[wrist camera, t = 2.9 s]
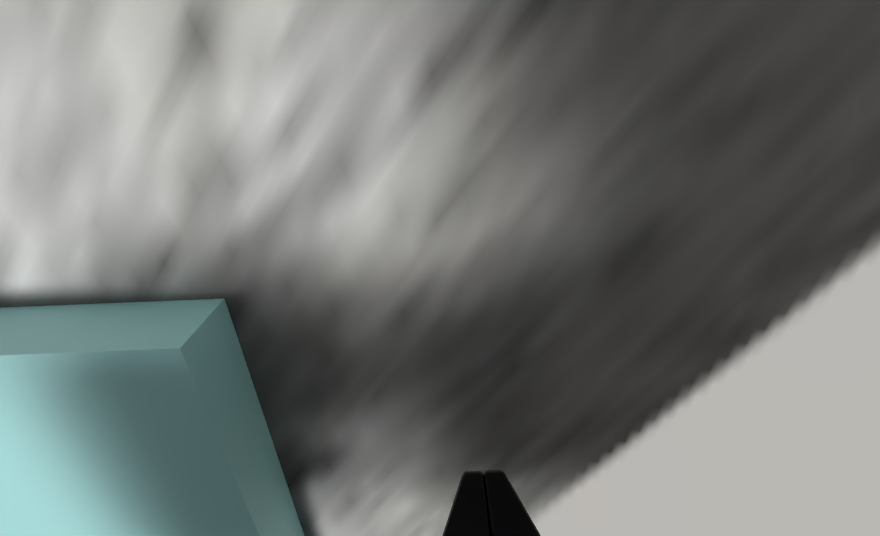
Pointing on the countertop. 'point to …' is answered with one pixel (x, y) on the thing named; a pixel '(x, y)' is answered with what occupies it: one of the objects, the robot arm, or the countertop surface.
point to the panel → (134, 425)
